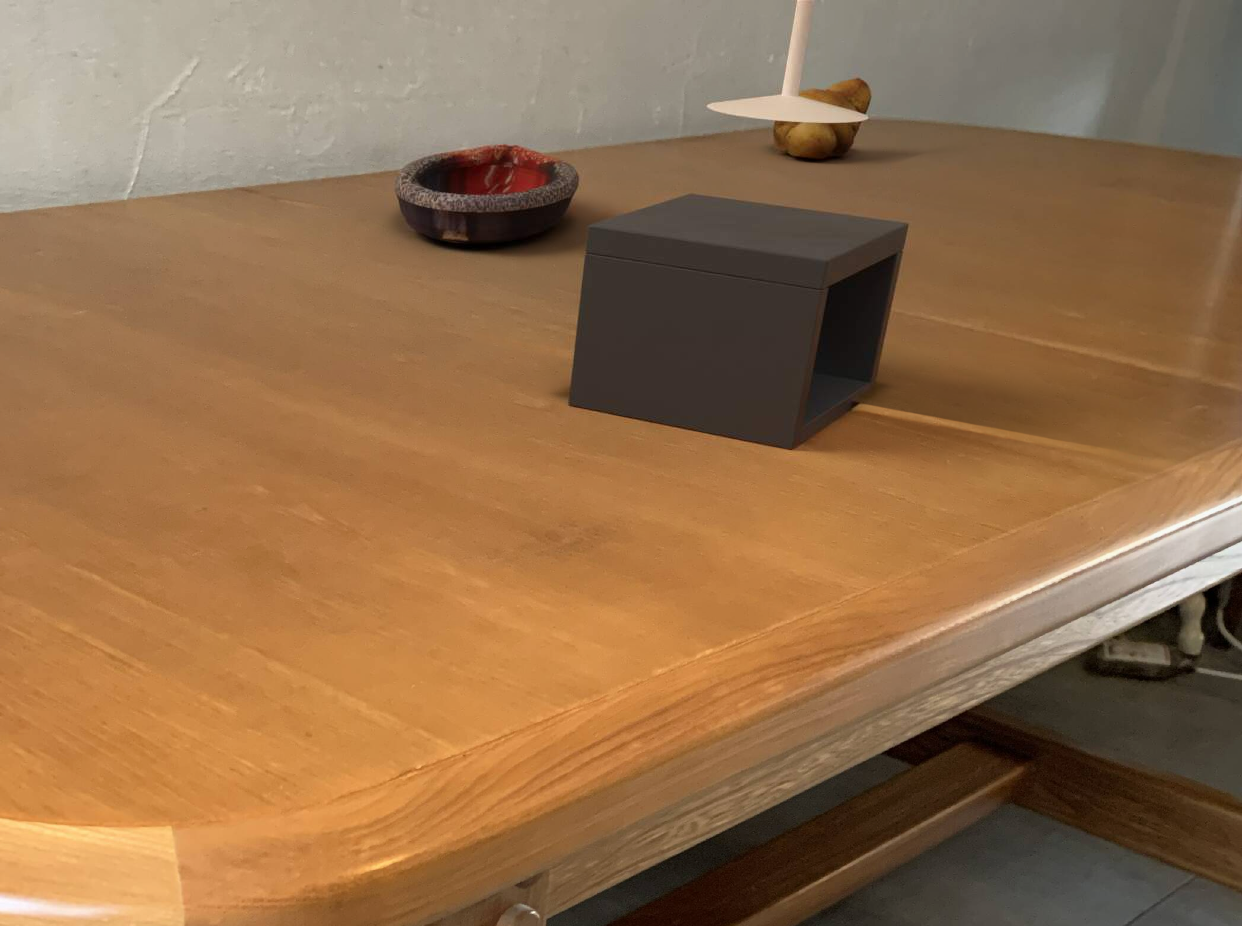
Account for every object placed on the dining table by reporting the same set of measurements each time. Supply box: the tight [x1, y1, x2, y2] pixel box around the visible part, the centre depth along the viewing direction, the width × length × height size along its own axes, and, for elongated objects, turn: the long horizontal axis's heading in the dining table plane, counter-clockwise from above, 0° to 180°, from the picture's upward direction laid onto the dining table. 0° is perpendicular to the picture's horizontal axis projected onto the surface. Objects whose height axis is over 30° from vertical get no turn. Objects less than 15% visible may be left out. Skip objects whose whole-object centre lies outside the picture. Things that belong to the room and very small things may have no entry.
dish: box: [393, 143, 580, 245], centre depth 148 cm, size 16×31×5 cm, turn 164°
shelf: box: [568, 193, 910, 450], centre depth 100 cm, size 14×15×10 cm
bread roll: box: [772, 76, 872, 160], centre depth 191 cm, size 13×10×8 cm
